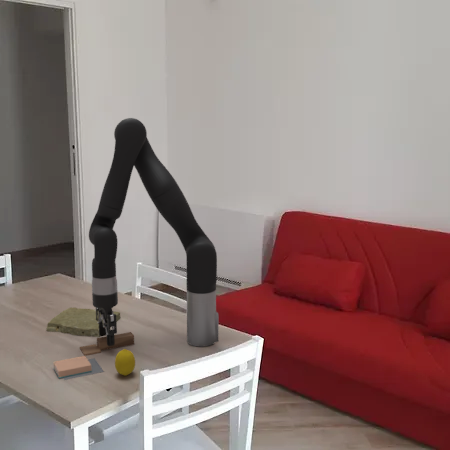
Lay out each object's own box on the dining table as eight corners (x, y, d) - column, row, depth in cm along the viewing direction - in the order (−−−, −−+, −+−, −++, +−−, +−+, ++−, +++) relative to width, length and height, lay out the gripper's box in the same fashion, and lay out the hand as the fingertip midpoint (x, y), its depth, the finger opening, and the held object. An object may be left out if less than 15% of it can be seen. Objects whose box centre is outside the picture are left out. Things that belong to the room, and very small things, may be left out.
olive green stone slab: (68, 314, 209) (68, 305, 209) (121, 319, 205) (120, 309, 205) (42, 334, 191) (42, 323, 191) (99, 339, 187) (99, 329, 187)
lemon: (136, 371, 164) (135, 344, 162) (134, 380, 158) (133, 353, 157) (116, 371, 163) (116, 345, 162) (113, 380, 158) (112, 353, 156)
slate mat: (94, 359, 171) (94, 358, 171) (104, 372, 163) (104, 371, 163) (56, 366, 166) (56, 365, 166) (64, 381, 158) (64, 379, 158)
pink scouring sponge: (85, 355, 168) (53, 361, 164) (91, 365, 162) (58, 371, 158) (85, 362, 168) (53, 368, 164) (91, 371, 162) (59, 378, 158)
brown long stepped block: (135, 347, 180) (135, 336, 180) (84, 357, 173) (84, 346, 172) (129, 340, 185) (129, 330, 185) (79, 350, 178) (79, 339, 177)
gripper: (124, 294, 171) (125, 346, 174) (110, 282, 183) (111, 330, 186) (99, 298, 167) (101, 351, 171) (86, 285, 180) (88, 334, 183)
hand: (106, 340), depth 178 cm, fingers open, 8 cm apart
